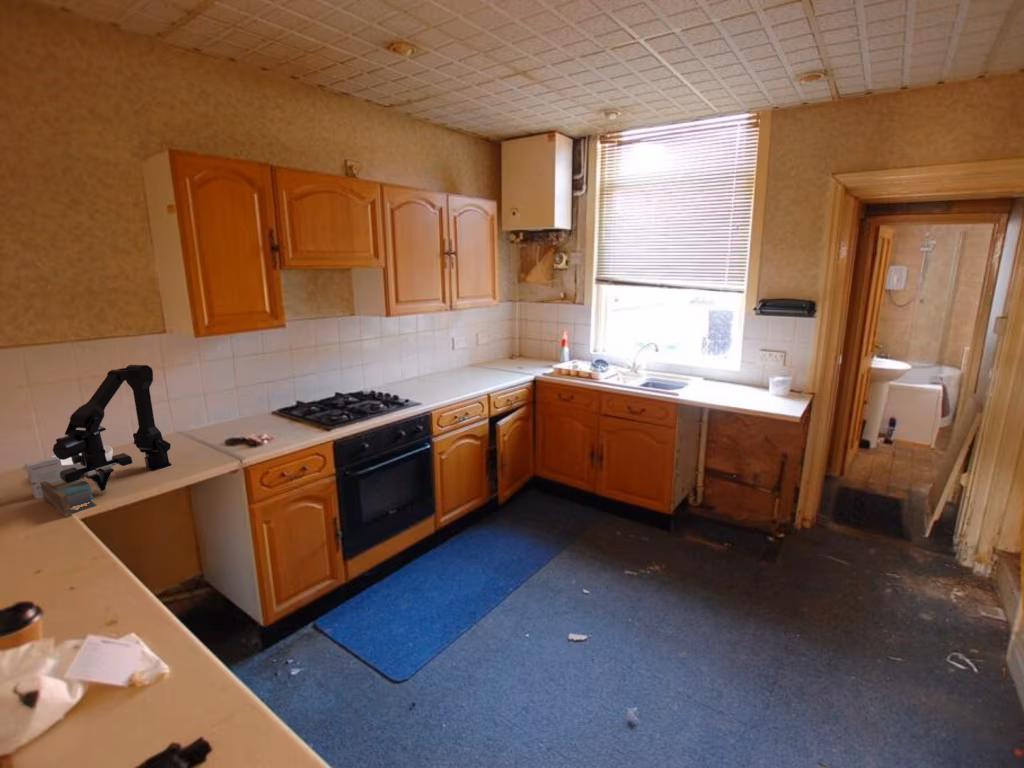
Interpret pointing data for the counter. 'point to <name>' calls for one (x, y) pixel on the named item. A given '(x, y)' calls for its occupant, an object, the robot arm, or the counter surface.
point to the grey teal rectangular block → (77, 488)
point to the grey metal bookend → (80, 500)
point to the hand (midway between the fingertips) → (102, 490)
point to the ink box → (43, 473)
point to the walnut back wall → (56, 498)
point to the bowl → (69, 464)
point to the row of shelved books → (65, 484)
